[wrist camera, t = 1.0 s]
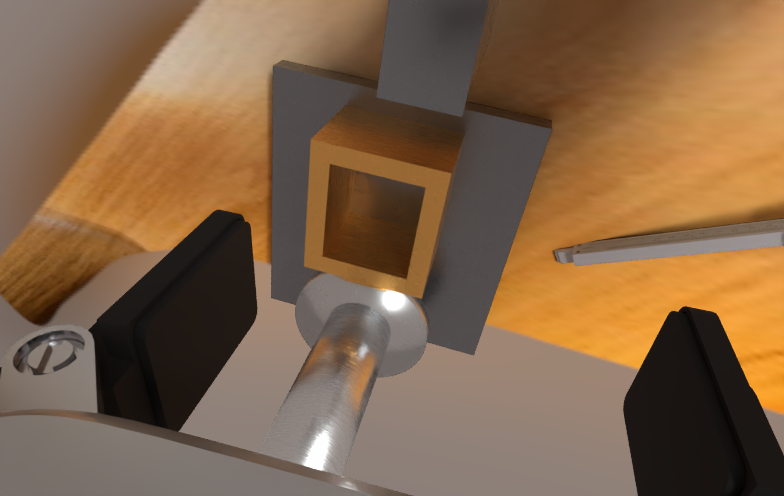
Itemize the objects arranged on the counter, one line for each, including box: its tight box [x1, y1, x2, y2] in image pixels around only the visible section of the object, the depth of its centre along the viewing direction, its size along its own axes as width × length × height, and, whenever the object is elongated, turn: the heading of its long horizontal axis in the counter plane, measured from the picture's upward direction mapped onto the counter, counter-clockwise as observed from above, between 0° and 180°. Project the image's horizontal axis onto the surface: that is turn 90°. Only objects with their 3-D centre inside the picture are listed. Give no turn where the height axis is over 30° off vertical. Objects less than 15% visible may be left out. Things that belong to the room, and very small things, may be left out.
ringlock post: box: [257, 60, 552, 476], centre depth 31 cm, size 21×18×20 cm
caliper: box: [554, 218, 784, 266], centre depth 31 cm, size 20×1×6 cm, turn 115°
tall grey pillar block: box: [377, 0, 498, 117], centre depth 25 cm, size 7×4×10 cm, turn 172°
